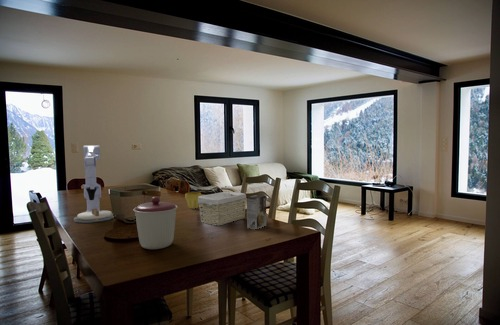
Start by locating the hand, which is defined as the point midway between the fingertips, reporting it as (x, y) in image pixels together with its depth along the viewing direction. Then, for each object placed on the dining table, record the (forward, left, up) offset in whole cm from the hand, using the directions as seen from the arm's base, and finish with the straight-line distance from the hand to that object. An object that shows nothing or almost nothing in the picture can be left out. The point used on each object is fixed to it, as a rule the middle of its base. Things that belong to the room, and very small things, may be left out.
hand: (91, 200), depth 195 cm
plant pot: (+6, +61, -11) cm, 62 cm away
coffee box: (+72, +70, -11) cm, 101 cm away
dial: (+4, +1, -9) cm, 10 cm away
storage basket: (+49, +62, -11) cm, 80 cm away
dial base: (+4, +1, -10) cm, 11 cm away
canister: (+75, +18, -11) cm, 78 cm away
